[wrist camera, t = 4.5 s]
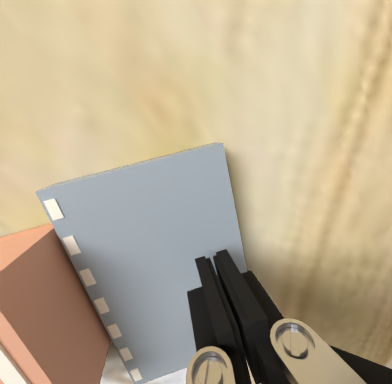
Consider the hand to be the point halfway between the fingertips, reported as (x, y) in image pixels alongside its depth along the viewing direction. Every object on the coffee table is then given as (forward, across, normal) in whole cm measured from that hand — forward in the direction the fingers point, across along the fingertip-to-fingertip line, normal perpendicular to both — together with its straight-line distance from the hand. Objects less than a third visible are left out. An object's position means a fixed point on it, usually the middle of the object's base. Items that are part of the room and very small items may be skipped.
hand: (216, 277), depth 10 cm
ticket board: (+3, +2, +1) cm, 4 cm away
